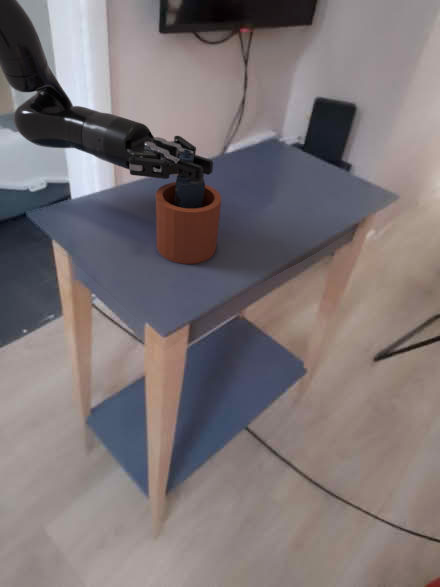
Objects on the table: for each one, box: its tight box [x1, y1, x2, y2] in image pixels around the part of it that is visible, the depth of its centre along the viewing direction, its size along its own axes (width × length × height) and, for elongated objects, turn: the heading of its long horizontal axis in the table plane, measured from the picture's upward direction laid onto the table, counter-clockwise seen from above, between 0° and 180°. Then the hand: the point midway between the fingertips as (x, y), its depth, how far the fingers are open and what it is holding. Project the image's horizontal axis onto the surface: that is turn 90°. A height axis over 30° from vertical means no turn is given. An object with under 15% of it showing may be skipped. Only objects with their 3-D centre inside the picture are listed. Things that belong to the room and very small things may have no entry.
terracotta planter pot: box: [155, 181, 222, 265], centre depth 67 cm, size 11×11×10 cm
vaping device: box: [174, 150, 206, 209], centre depth 64 cm, size 3×5×12 cm, turn 126°
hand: (206, 171), depth 60 cm, fingers closed on vaping device, 2 cm apart
